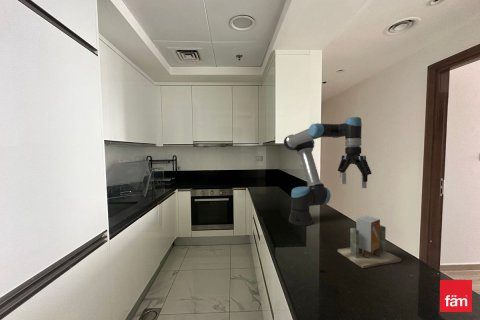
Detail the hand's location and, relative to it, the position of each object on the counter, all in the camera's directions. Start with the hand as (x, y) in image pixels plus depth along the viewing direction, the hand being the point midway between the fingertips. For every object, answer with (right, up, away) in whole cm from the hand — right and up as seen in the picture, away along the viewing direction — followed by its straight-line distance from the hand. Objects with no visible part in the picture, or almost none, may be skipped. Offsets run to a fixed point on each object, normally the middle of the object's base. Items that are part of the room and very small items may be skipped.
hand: (352, 186), depth 105 cm
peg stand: (-3, -29, -17) cm, 34 cm away
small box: (-3, -26, -18) cm, 31 cm away
